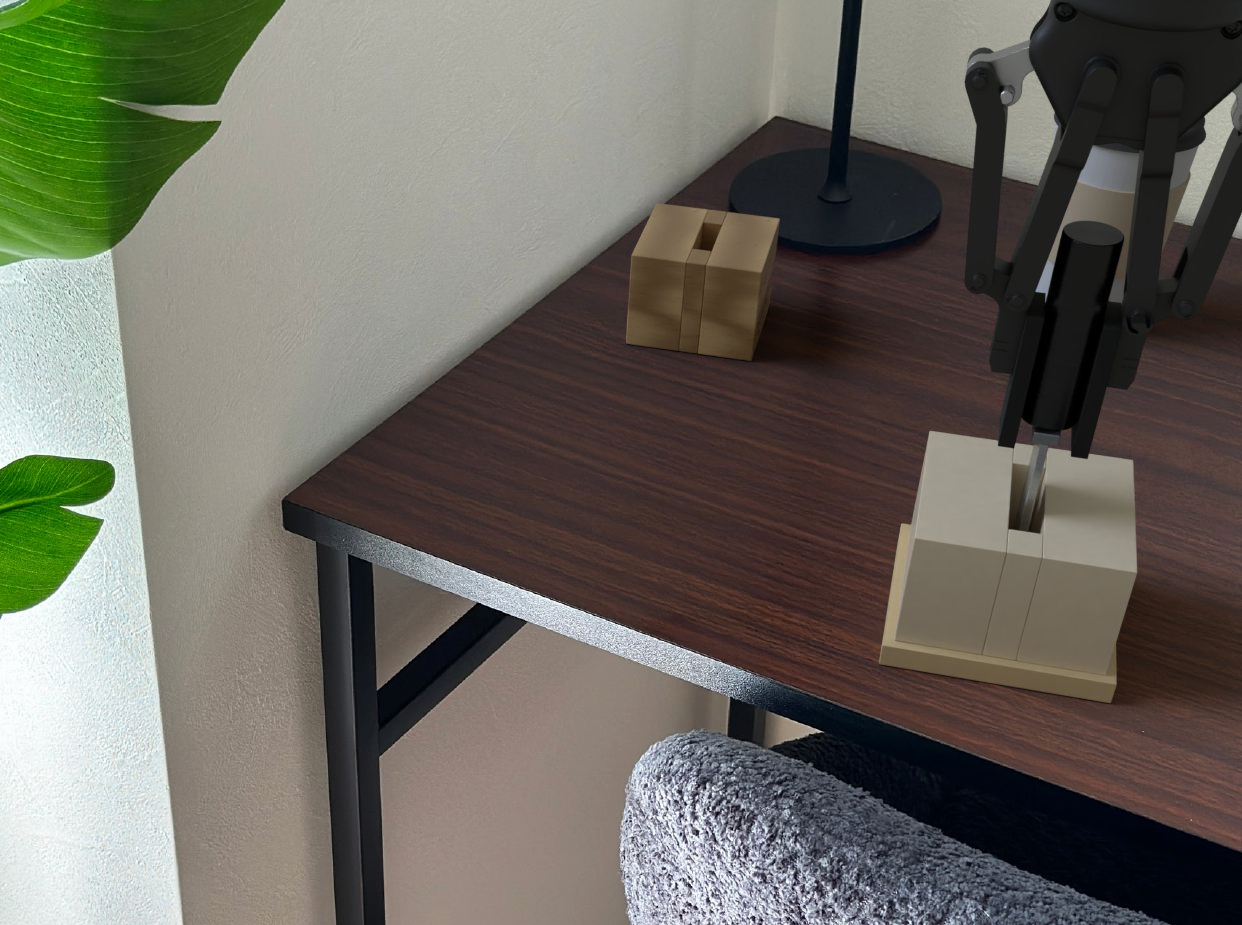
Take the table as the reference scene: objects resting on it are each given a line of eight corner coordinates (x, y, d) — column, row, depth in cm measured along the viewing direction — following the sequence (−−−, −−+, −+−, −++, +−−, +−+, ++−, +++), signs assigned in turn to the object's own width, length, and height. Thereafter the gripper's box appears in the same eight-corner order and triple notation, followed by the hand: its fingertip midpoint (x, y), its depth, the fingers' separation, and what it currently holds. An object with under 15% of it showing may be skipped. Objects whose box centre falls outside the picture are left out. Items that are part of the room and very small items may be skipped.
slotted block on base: (1109, 574, 90) (1143, 456, 85) (1111, 703, 82) (1149, 580, 77) (897, 541, 92) (920, 423, 87) (878, 664, 83) (902, 541, 79)
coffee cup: (1117, 277, 117) (1175, 55, 107) (1177, 340, 110) (1245, 108, 101) (991, 284, 116) (1039, 60, 106) (1044, 348, 109) (1100, 114, 99)
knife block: (769, 304, 113) (780, 218, 109) (751, 361, 107) (762, 271, 103) (650, 288, 114) (656, 202, 110) (625, 344, 108) (631, 254, 104)
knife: (1038, 556, 86) (1124, 221, 74) (1036, 592, 83) (1125, 252, 72) (985, 547, 86) (1063, 214, 75) (982, 583, 84) (1062, 244, 72)
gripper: (960, -95, 63) (866, 453, 79) (1408, -54, 61) (1222, 506, 76) (971, -145, 69) (881, 376, 84) (1381, -109, 66) (1213, 422, 81)
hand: (1043, 437), depth 80 cm, fingers closed on knife, 3 cm apart
